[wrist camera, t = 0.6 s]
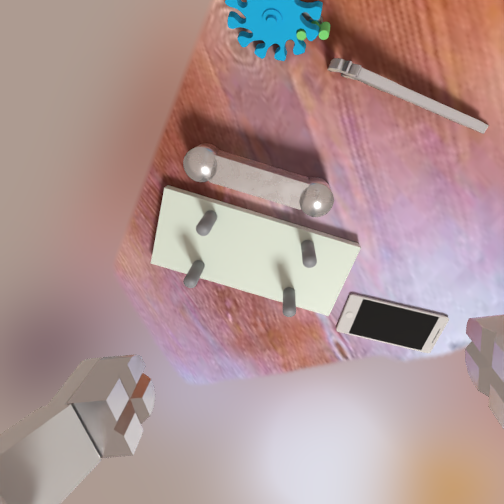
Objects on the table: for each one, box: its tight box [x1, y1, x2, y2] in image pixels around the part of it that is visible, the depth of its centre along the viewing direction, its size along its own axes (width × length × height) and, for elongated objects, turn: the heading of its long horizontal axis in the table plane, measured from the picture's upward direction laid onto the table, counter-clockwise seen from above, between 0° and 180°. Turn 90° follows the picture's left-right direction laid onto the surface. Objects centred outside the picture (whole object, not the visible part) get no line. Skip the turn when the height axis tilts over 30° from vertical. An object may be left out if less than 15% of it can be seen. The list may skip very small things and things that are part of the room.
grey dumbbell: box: [183, 143, 334, 217], centre depth 44 cm, size 4×19×4 cm, turn 74°
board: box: [151, 185, 361, 317], centre depth 48 cm, size 12×28×6 cm, turn 74°
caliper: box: [328, 58, 489, 134], centre depth 38 cm, size 20×1×6 cm, turn 70°
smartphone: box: [336, 294, 449, 353], centre depth 54 cm, size 7×16×1 cm, turn 78°
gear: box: [225, 0, 330, 61], centre depth 36 cm, size 11×6×10 cm
